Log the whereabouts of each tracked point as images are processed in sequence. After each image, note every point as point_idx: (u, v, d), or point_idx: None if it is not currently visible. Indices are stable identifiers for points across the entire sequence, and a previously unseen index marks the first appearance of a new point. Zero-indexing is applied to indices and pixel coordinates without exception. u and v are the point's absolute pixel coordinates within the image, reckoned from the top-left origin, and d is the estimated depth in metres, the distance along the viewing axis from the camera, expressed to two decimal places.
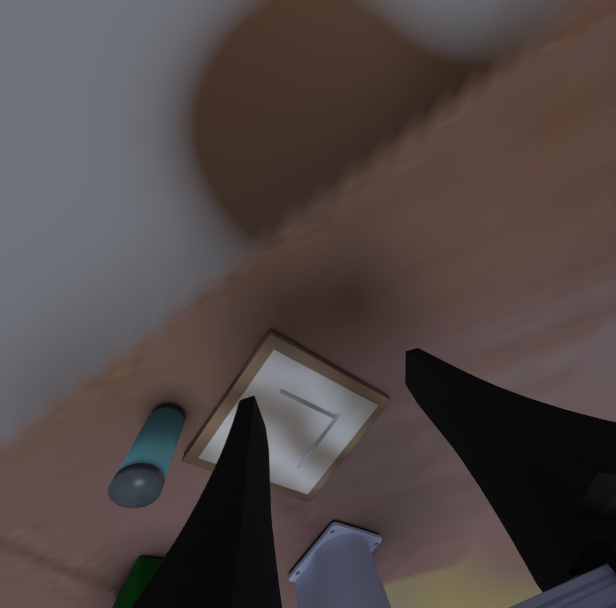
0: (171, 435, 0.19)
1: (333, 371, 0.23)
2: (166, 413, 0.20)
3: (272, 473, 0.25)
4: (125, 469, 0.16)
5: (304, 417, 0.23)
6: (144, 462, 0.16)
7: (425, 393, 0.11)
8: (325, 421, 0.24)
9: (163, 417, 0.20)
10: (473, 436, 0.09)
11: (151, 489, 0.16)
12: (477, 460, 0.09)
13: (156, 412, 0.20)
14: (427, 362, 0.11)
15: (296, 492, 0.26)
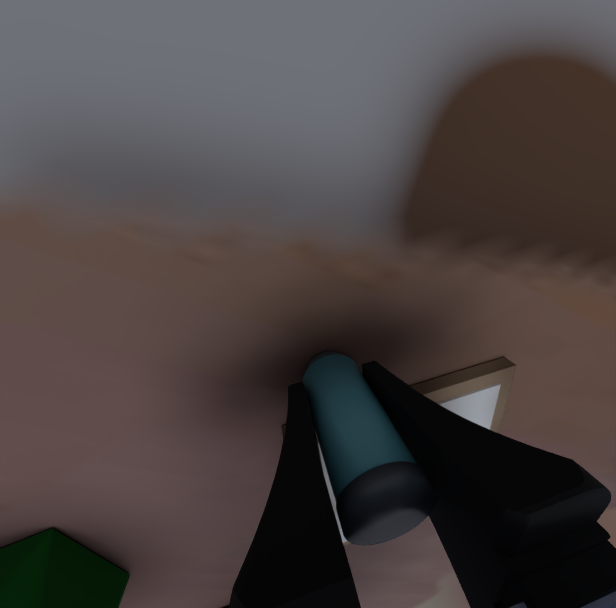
0: None
1: None
2: (361, 373, 0.12)
3: None
4: (412, 470, 0.07)
5: None
6: (420, 469, 0.08)
7: None
8: None
9: (364, 378, 0.11)
10: (416, 455, 0.09)
11: (402, 525, 0.08)
12: None
13: (348, 361, 0.12)
14: (379, 377, 0.10)
15: None
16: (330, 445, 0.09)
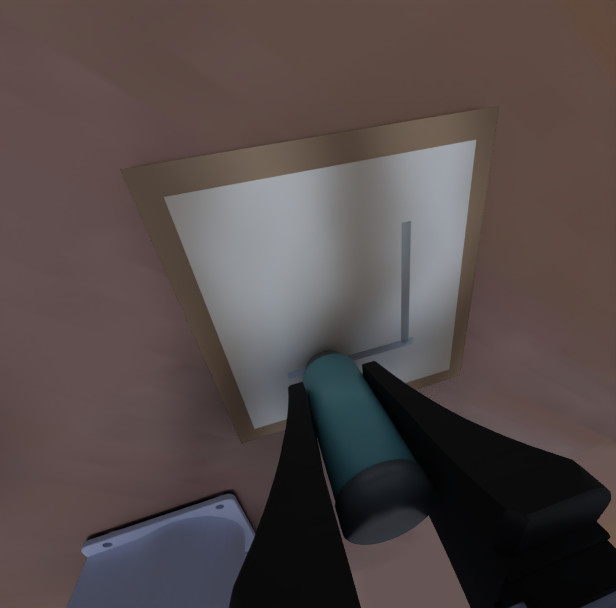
0: None
1: (471, 270, 0.13)
2: None
3: (248, 353, 0.12)
4: (411, 468, 0.07)
5: (379, 302, 0.12)
6: (420, 467, 0.08)
7: None
8: (390, 335, 0.13)
9: (364, 377, 0.11)
10: (416, 456, 0.09)
11: (402, 524, 0.08)
12: None
13: (348, 360, 0.12)
14: (379, 377, 0.10)
15: (242, 414, 0.14)
16: (329, 444, 0.08)
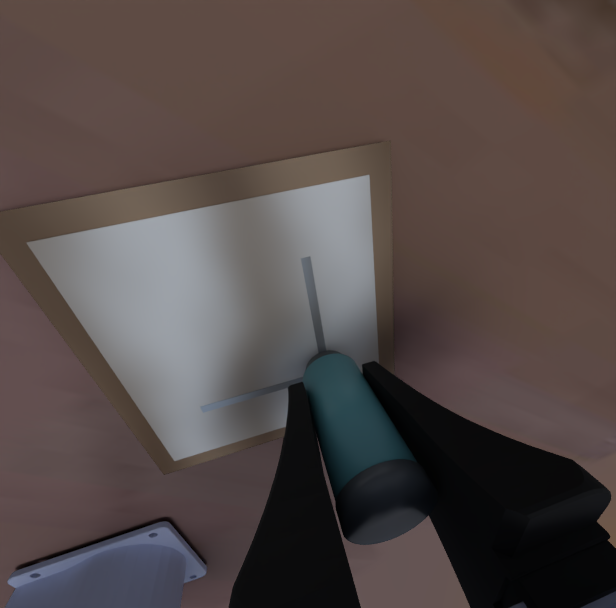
0: None
1: (389, 300, 0.13)
2: (361, 372, 0.12)
3: (152, 390, 0.12)
4: (412, 468, 0.07)
5: (290, 336, 0.12)
6: (421, 467, 0.08)
7: None
8: None
9: (364, 377, 0.11)
10: (416, 456, 0.09)
11: (403, 524, 0.08)
12: None
13: (348, 360, 0.12)
14: (379, 377, 0.10)
15: (159, 447, 0.13)
16: (329, 444, 0.08)
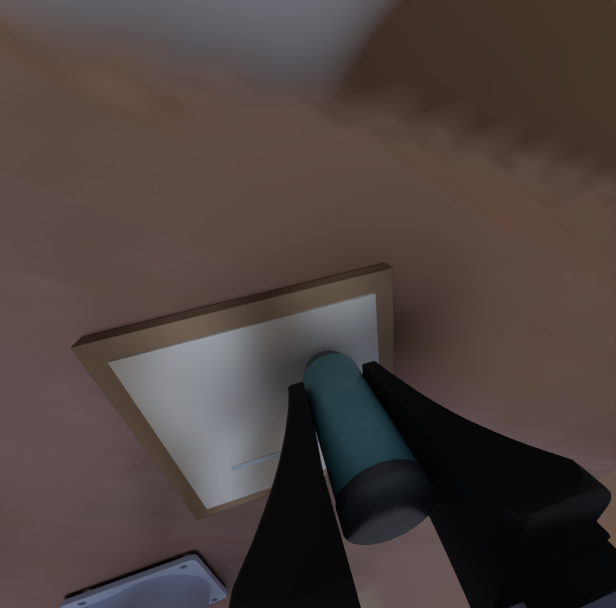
0: None
1: None
2: (361, 372, 0.12)
3: (194, 457, 0.14)
4: (412, 468, 0.07)
5: None
6: (421, 467, 0.08)
7: None
8: None
9: (364, 377, 0.11)
10: (416, 455, 0.09)
11: (403, 524, 0.08)
12: None
13: (348, 360, 0.12)
14: (379, 377, 0.10)
15: (195, 498, 0.16)
16: (329, 444, 0.08)
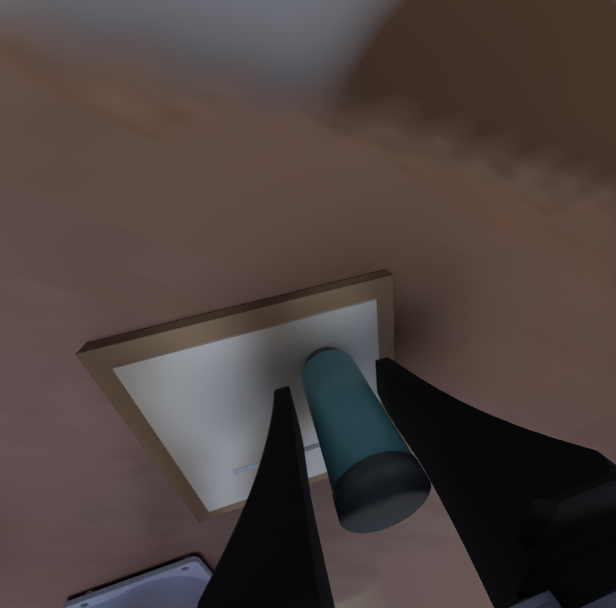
0: None
1: None
2: (358, 368, 0.12)
3: (196, 460, 0.14)
4: (406, 459, 0.07)
5: (309, 414, 0.15)
6: (415, 459, 0.08)
7: (392, 403, 0.11)
8: None
9: (361, 373, 0.12)
10: (433, 449, 0.09)
11: (397, 514, 0.08)
12: (438, 474, 0.09)
13: (346, 356, 0.12)
14: (393, 372, 0.10)
15: (197, 501, 0.16)
16: (327, 437, 0.09)
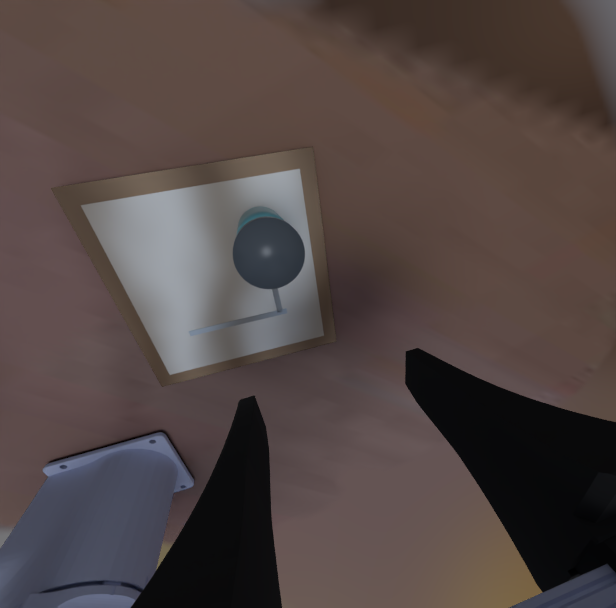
0: None
1: (323, 259, 0.18)
2: None
3: (155, 315, 0.17)
4: (283, 221, 0.10)
5: None
6: None
7: (425, 393, 0.11)
8: (266, 305, 0.18)
9: None
10: (473, 436, 0.09)
11: (282, 273, 0.11)
12: (477, 460, 0.09)
13: (272, 210, 0.15)
14: (427, 362, 0.10)
15: (159, 363, 0.19)
16: (238, 231, 0.12)
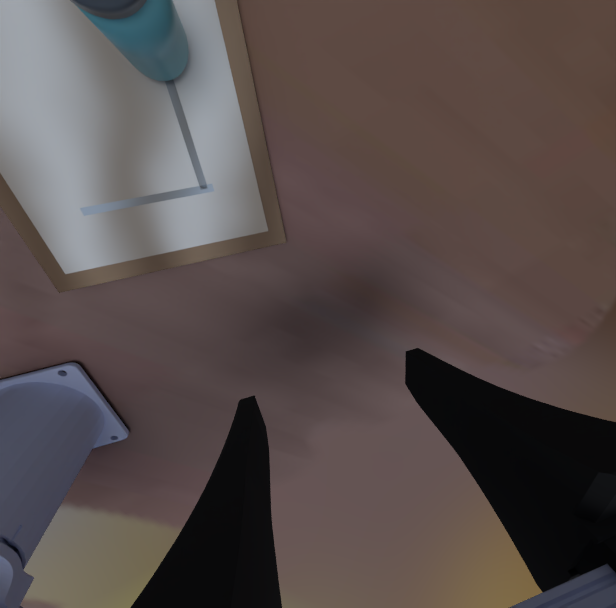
0: (175, 26, 0.10)
1: (255, 110, 0.14)
2: None
3: (27, 177, 0.13)
4: None
5: (158, 134, 0.13)
6: None
7: (425, 393, 0.11)
8: (184, 177, 0.14)
9: None
10: (473, 436, 0.09)
11: None
12: (477, 460, 0.09)
13: None
14: (427, 362, 0.10)
15: (48, 256, 0.14)
16: None
